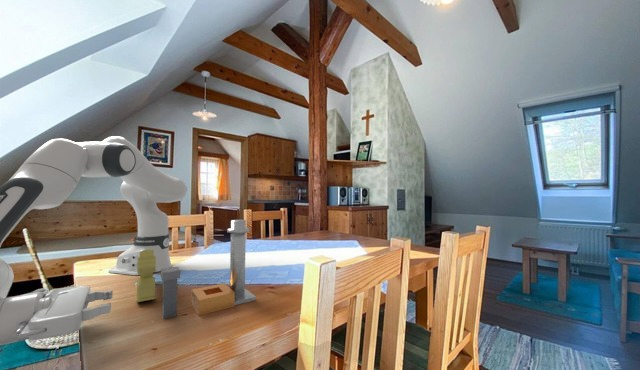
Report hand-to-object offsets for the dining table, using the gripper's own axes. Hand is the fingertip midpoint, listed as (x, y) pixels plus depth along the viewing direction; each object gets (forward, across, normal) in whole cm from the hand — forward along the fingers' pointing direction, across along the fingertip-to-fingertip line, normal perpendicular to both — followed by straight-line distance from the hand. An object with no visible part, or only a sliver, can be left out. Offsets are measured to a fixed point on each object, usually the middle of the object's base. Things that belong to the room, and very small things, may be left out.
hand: (111, 300), depth 63 cm
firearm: (+8, +23, +7) cm, 25 cm away
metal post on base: (+26, 0, +7) cm, 27 cm away
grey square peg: (+12, 0, +7) cm, 14 cm away
